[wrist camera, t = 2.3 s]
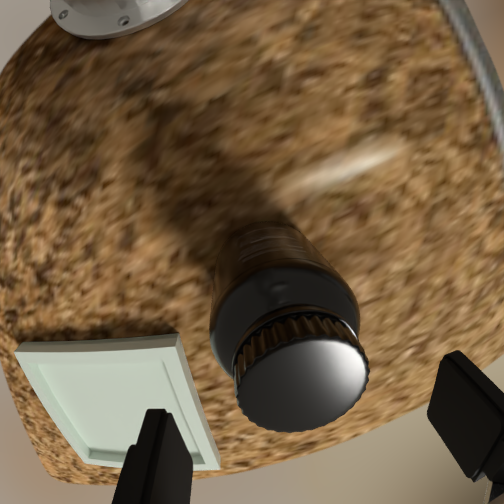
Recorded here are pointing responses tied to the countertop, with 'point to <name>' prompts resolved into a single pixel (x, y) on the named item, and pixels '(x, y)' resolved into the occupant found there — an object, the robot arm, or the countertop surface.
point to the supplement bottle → (285, 330)
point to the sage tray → (117, 394)
